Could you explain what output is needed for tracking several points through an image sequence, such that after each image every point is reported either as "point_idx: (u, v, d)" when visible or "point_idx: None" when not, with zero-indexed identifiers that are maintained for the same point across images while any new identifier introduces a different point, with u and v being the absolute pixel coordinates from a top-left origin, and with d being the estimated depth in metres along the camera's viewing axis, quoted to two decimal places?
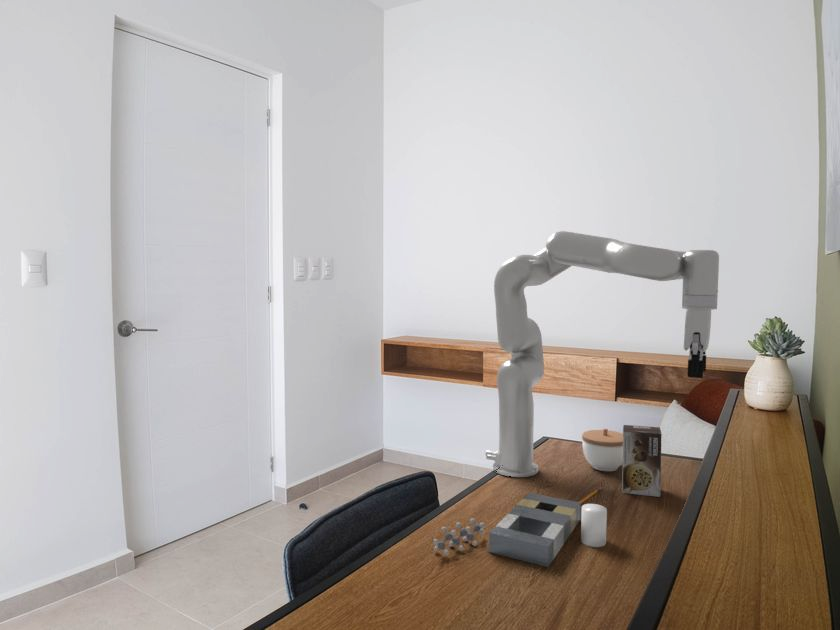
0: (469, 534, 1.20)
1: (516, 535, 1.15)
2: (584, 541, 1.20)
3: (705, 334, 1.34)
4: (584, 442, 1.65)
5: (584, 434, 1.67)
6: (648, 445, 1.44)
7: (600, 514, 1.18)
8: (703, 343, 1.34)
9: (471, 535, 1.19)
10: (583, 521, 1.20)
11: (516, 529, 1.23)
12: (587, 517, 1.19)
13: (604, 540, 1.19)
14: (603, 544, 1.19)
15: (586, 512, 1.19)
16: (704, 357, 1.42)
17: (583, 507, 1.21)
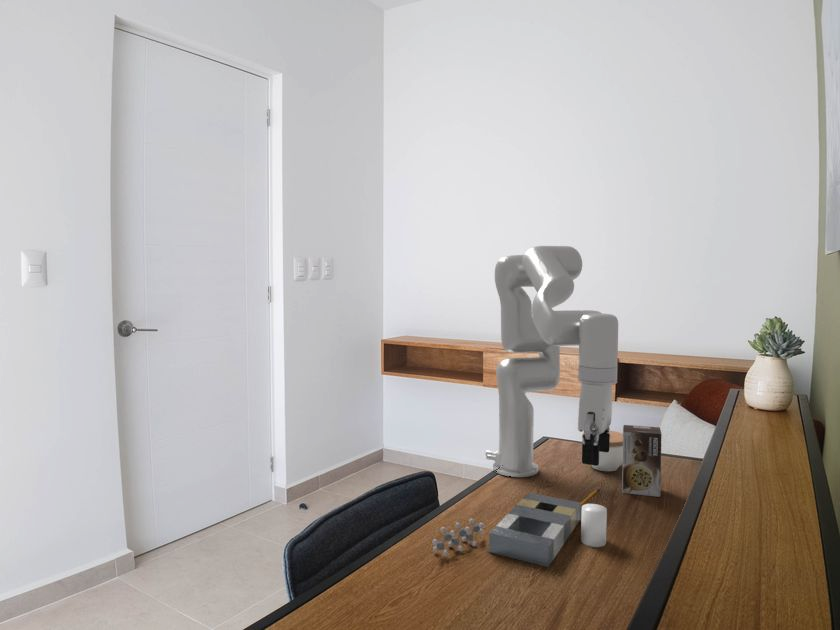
0: (468, 534, 1.19)
1: (516, 535, 1.15)
2: (584, 541, 1.20)
3: (600, 414, 1.14)
4: None
5: None
6: (648, 445, 1.44)
7: (600, 514, 1.18)
8: (598, 425, 1.14)
9: (470, 535, 1.19)
10: (583, 521, 1.20)
11: (516, 529, 1.23)
12: (587, 517, 1.19)
13: (604, 540, 1.19)
14: (603, 544, 1.19)
15: (586, 512, 1.19)
16: (607, 436, 1.23)
17: (583, 507, 1.21)
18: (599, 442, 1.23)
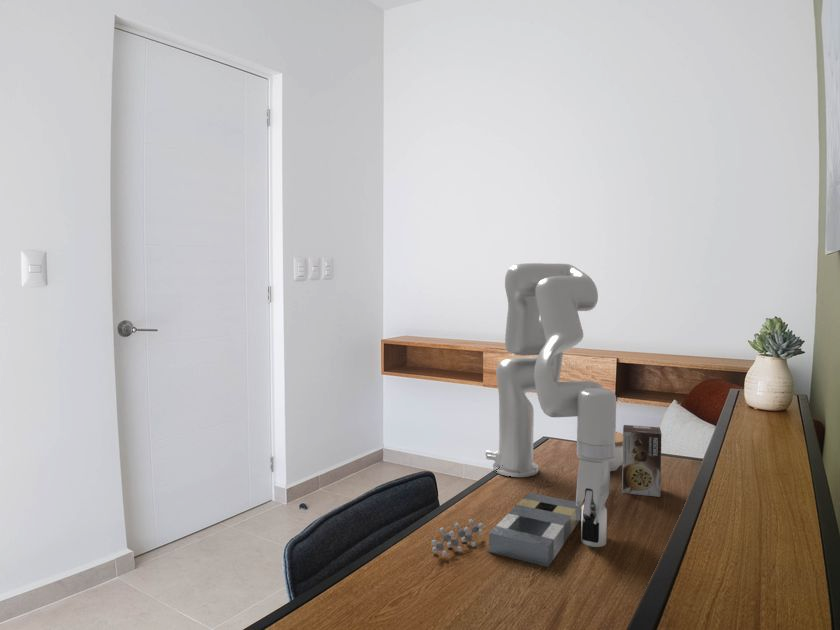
0: (467, 535, 1.19)
1: (516, 535, 1.15)
2: (584, 541, 1.20)
3: (598, 492, 1.15)
4: None
5: None
6: (648, 445, 1.44)
7: (600, 514, 1.18)
8: None
9: (469, 536, 1.19)
10: None
11: (516, 529, 1.23)
12: None
13: (604, 540, 1.19)
14: (603, 544, 1.19)
15: None
16: None
17: (583, 507, 1.21)
18: None
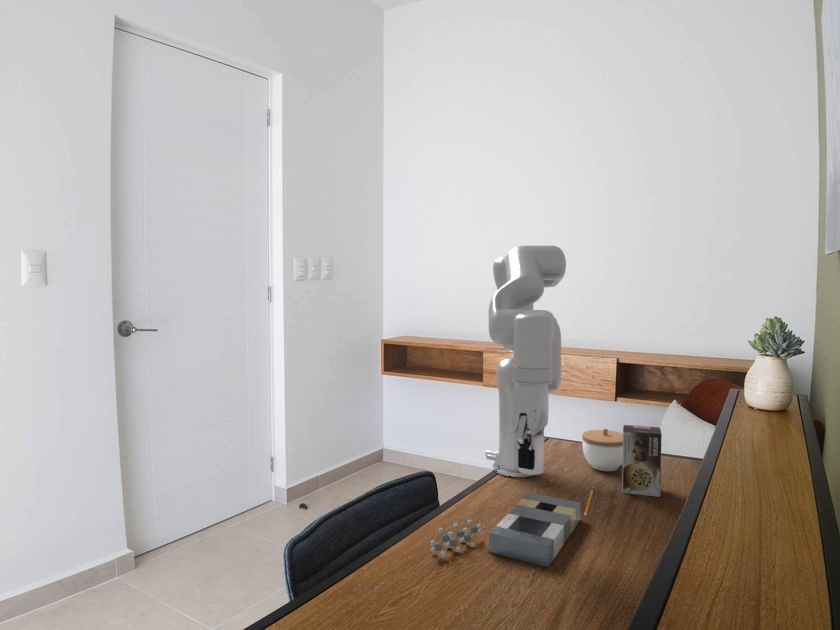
0: (466, 535, 1.19)
1: (516, 535, 1.15)
2: (521, 469, 1.17)
3: (532, 416, 1.12)
4: (584, 442, 1.65)
5: (584, 434, 1.67)
6: (648, 445, 1.44)
7: (536, 441, 1.15)
8: None
9: (468, 536, 1.19)
10: None
11: (516, 529, 1.23)
12: None
13: (541, 468, 1.16)
14: (540, 472, 1.16)
15: None
16: None
17: None
18: None
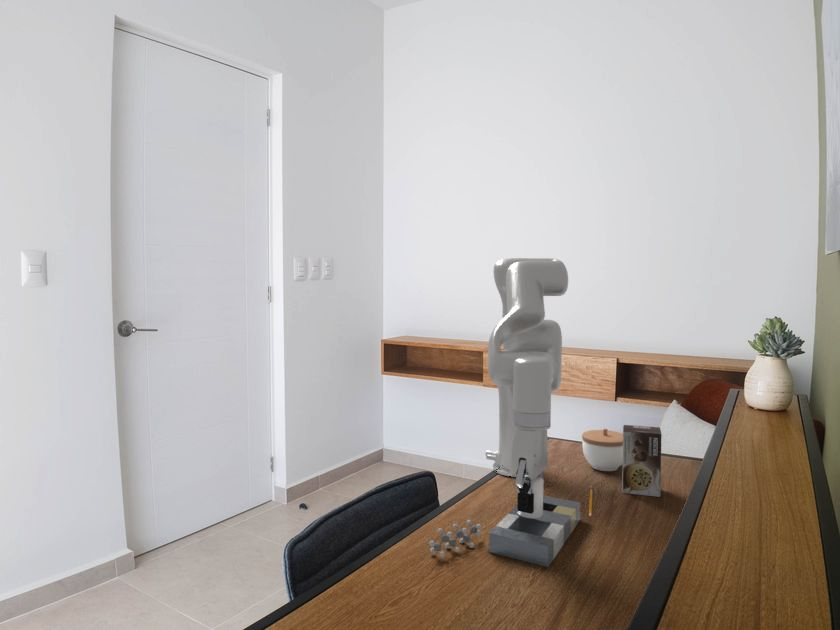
0: (466, 536, 1.19)
1: (516, 535, 1.15)
2: (520, 512, 1.18)
3: (531, 461, 1.13)
4: (584, 442, 1.65)
5: (584, 434, 1.67)
6: (648, 445, 1.44)
7: (535, 485, 1.16)
8: None
9: (468, 537, 1.19)
10: None
11: (516, 529, 1.23)
12: None
13: (540, 511, 1.17)
14: (539, 515, 1.17)
15: None
16: None
17: None
18: None
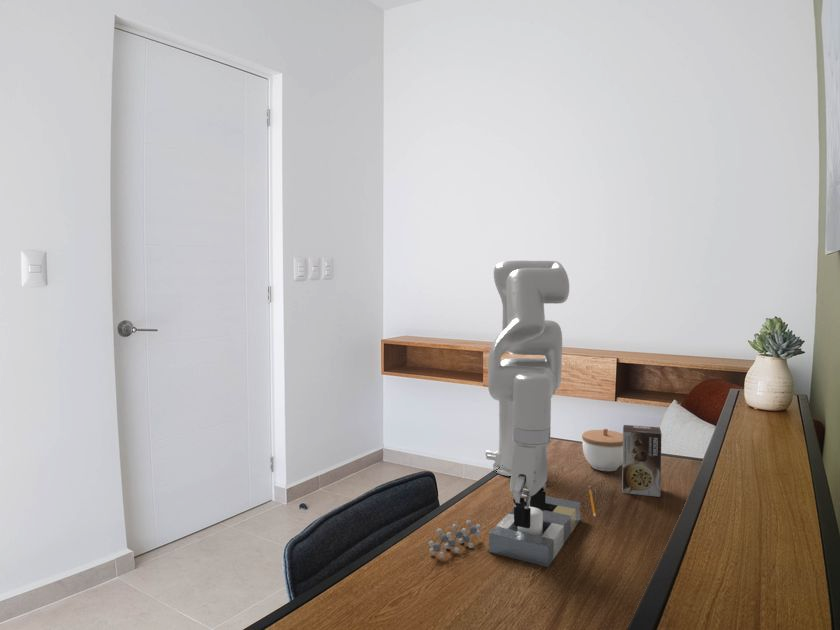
0: (465, 536, 1.19)
1: (516, 535, 1.15)
2: None
3: (531, 477, 1.13)
4: (584, 442, 1.65)
5: (584, 434, 1.67)
6: (648, 445, 1.44)
7: (535, 518, 1.17)
8: (529, 488, 1.13)
9: (467, 537, 1.19)
10: None
11: (516, 529, 1.23)
12: None
13: None
14: None
15: None
16: (542, 494, 1.22)
17: None
18: (535, 500, 1.23)
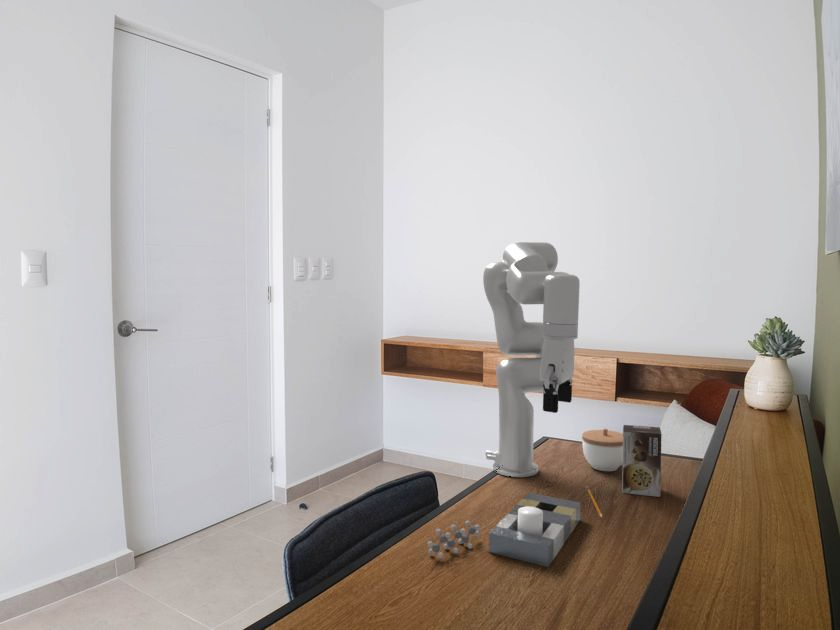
0: (464, 536, 1.19)
1: (516, 535, 1.15)
2: None
3: (560, 366, 1.24)
4: (584, 442, 1.65)
5: (584, 434, 1.67)
6: (648, 445, 1.44)
7: (535, 517, 1.17)
8: (558, 376, 1.25)
9: (466, 537, 1.18)
10: (519, 524, 1.18)
11: (516, 529, 1.23)
12: (522, 519, 1.17)
13: None
14: None
15: (522, 515, 1.18)
16: (569, 387, 1.33)
17: (519, 510, 1.20)
18: (562, 393, 1.34)
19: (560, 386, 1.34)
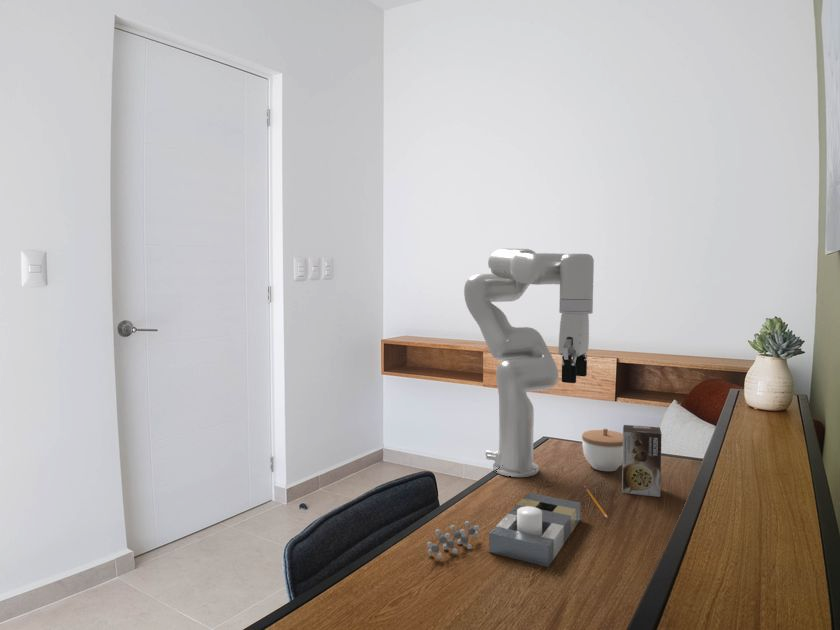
0: (463, 537, 1.18)
1: (516, 535, 1.15)
2: None
3: (577, 339, 1.32)
4: (584, 442, 1.65)
5: (584, 434, 1.67)
6: (648, 445, 1.44)
7: (534, 517, 1.17)
8: (575, 348, 1.32)
9: (465, 538, 1.18)
10: (518, 524, 1.18)
11: (516, 529, 1.23)
12: (522, 520, 1.17)
13: None
14: None
15: (521, 515, 1.17)
16: (584, 362, 1.41)
17: (518, 510, 1.19)
18: (578, 368, 1.42)
19: (575, 361, 1.42)
